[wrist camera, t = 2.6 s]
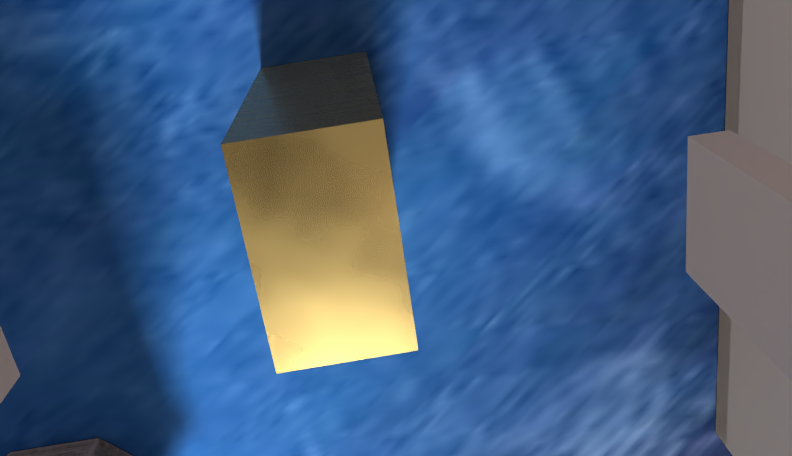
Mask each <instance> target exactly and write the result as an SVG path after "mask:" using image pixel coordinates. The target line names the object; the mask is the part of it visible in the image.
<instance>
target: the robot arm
mask: <svg viewBox="0 0 792 456" xmlns="http://www.w3.org/2000/svg"><path fill="white" fill-rule="evenodd" d="M686 272H687V274H688V275H689V276H690V277H691V278H692V279H693V280H694V281H695V282H696V283H697V284H698V285H699V286H700V287H701V288H702V289H703V290H704V291H705V292H706V293H707V294H708V295H709V296H710V297H711V298H712V299H713V301H714V302H715V303H716V304H717V305H718V306H719V307H720V308H721V309H722V310H723V311H724V312H725V313H726V314H727V315H728V316H729V317H730V318H731V319H732V320H733V321H734V322H735V323H736V324H737V325H738V326H739V328H740V329H741V330H742V331H743V332H744V333H745V334H746V335H747V336H748V337H749V338H750V339H751V340H752V341H753V342H754V343H755V344H756V345H757V346H758V347H759V348H760V349H761V350H762V351H763V352H764V353H765V355H766V356H767V357H768V358H769V359H770V360H771V361H772V362H773V363H774V364H775V365H776V366H777V367H778V368H779V369H780V370H781V371H782V372H783V373H784V374H785V375H786V376H787V377H788V378H789V379H790V380H791V381H792V164H791V163H789V162H787V161H785V160H783V159H781V158H780V157H778V156H776V155H774V154H772V153H771V152H769V151H767V150H765V149H763V148H761V147H760V146H758V145H756V144H754V143H752V142H751V141H749V140H747V139H745V138H743V137H742V136H740V135H738V134H736V133H734V132H732V131H731V130H727V131H720V132H714V133H707V134H701V135H695V136H688V166H687V229H686ZM19 377H20V373H19V370H18V368H17V366H16V363H15V361H14V358H13V356H12V353H11V351H10V348H9V346H8V344H7V341H6V339H5V336H4V334H3V331H2V329H1V326H0V404H1V402H2V401H3V399H4V398H5V397H6V395H7V394H8V392H9V391H10V390H11V388H12V387H13V385H14V384H15V383H16V381H17V380H18V378H19Z"/></svg>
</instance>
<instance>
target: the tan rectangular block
mask: <svg viewBox="0 0 792 456" xmlns="http://www.w3.org/2000/svg"><path fill="white" fill-rule="evenodd" d="M221 147H222V151H223V155H224V159H225V163H226V167H227V172H228V176H229V180H230V184H231V188H232V192H233V196H234V200H235V205H236V209H237V213H238V217H239V221H240V225H241V229H242V234H243V238H244V242H245V246H246V250H247V254H248V258H249V262H250V267H251V271H252V275H253V279H254V283H255V287H256V291H257V295H258V300H259V304H260V308H261V312H262V316H263V320H264V324H265V328H266V333H267V337H268V341H269V345H270V349H271V353H272V357H273V362H274V366H275V370H276V374H277V373H283V372H289V371H295V370H301V369H307V368H313V367H320V366H326V365H332V364H338V363H344V362H350V361H356V360H362V359H368V358H374V357H380V356H386V355H392V354H398V353H404V352H411V351H417V350H418V345H417V338H416V332H415V325H414V319H413V312H412V306H411V299H410V292H409V286H408V279H407V273H406V266H405V259H404V253H403V246H402V240H401V233H400V227H399V220H398V213H397V207H396V200H395V194H394V187H393V181H392V174H391V167H390V161H389V154H388V148H387V141H386V135H385V128H384V121H383V116H382V112H381V109H380V105H379V101H378V97H377V93H376V89H375V85H374V81H373V78H372V74H371V70H370V66H369V62H368V58H367V54H366V52H359V53H353V54H347V55H340V56H334V57H328V58H321V59H315V60H308V61H302V62H296V63H289V64H283V65H277V66H270V67H264V68H261V69H260V71H259V73H258V75H257V77H256V79H255V80H254V82H253V84H252V86H251V88H250V90H249V92H248V94H247V96H246V98H245V99H244V101H243V103H242V105H241V107H240V109H239V111H238V113H237V115H236V117H235V118H234V120H233V122H232V124H231V126H230V128H229V130H228V132H227V134H226V136H225V137H224V139H223V141H222V143H221Z"/></svg>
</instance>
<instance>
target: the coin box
mask: <svg viewBox="0 0 792 456" xmlns="http://www.w3.org/2000/svg"><path fill="white" fill-rule="evenodd" d="M727 130H731V131H732V132H734V133H736V134H738V135H740V136H742V137H743V138H745V139H747V140H749V141H751V142H752V143H754V144H756V145H758V146H760V147H761V148H763V149H765V150H767V151H769V152H771V153H772V154H774V155H776V156H778V157H780V158H781V159H783V160H785V161H787V162H789V163H791V164H792V0H729V14H728V46H727V79H726V111H725V131H727ZM715 433H716V434H717V435H718V437H719V438H720V439H721V441H722V442H723V443H724V445H725V446H726V447H727V449H728V450H729V451H730V453H731V454H732V455H733V456H792V381H791V380H790V379H789V378H788V377H787V376H786V375H785V374H784V373H783V372H782V371H781V370H780V369H779V368H778V367H777V366H776V365H775V364H774V363H773V362H772V361H771V360H770V359H769V358H768V357H767V356H766V355H765V353H764V352H763V351H762V350H761V349H760V348H759V347H758V346H757V345H756V344H755V343H754V342H753V341H752V340H751V339H750V338H749V337H748V336H747V335H746V334H745V333H744V332H743V331H742V330H741V329H740V328H739V326H738V325H737V324H736V323H735V322H734V321H733V320H732V319H731V318H730V317H729V316H728V315H727V314H726V313H725V312H724V311H723V310H722V309H721V308H720V307H719V335H718V367H717V399H716V431H715Z"/></svg>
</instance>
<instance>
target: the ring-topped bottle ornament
mask: <svg viewBox="0 0 792 456" xmlns="http://www.w3.org/2000/svg"><path fill="white" fill-rule="evenodd" d="M7 456H132V455H130V454H128V453H127V452H125V451H123V450H121V449H119V448H117V447H115V446H113V445H111V444H109V443H107V442H106V441H104V440H102V439H99V438H95V439H89V440H83V441H77V442H71V443H64V444H58V445H52V446H46V447H40V448H33V449H27V450H21V451H15V452H10V453H8V454H7Z"/></svg>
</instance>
